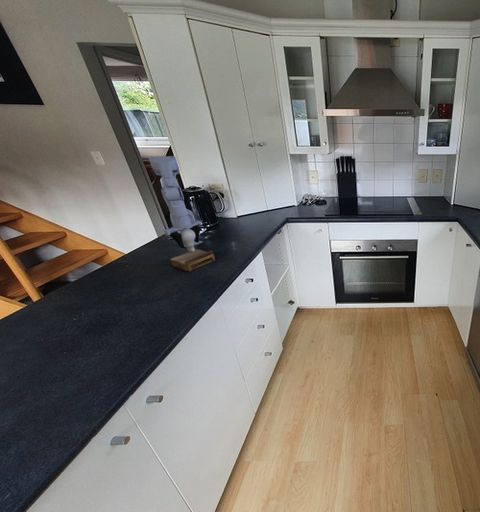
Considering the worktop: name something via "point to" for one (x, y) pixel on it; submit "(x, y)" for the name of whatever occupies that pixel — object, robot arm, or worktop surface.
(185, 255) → the wooden pallet
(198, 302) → the worktop surface
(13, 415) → the worktop surface
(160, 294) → the worktop surface
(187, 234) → the lightbulb
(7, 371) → the worktop surface
